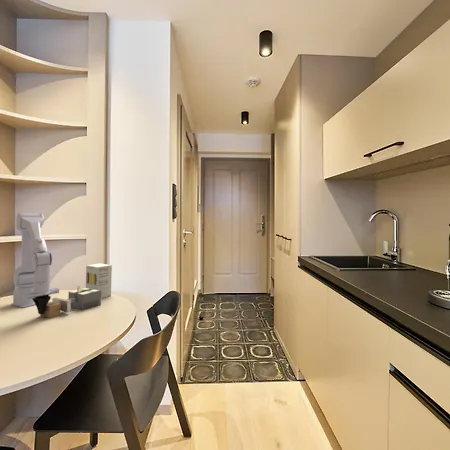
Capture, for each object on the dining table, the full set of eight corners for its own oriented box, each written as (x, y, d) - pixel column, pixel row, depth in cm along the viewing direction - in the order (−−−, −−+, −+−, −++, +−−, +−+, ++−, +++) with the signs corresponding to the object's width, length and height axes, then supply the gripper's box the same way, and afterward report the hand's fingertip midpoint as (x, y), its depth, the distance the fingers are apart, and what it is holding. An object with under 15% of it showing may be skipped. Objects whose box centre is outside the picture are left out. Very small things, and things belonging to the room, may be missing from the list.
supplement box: (84, 296, 166) (85, 265, 165) (99, 293, 174) (100, 263, 173) (97, 299, 161) (97, 266, 161) (111, 295, 169) (112, 264, 169)
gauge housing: (83, 310, 144) (83, 294, 143) (68, 306, 148) (68, 291, 148) (100, 304, 153) (101, 289, 152) (86, 301, 157) (86, 287, 157)
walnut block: (40, 316, 134) (40, 304, 134) (51, 312, 138) (51, 301, 138) (49, 318, 131) (49, 306, 131) (60, 315, 136) (60, 303, 136)
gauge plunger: (67, 312, 136) (67, 291, 136) (52, 308, 141) (52, 288, 141) (87, 306, 146) (88, 287, 146) (73, 302, 150) (73, 284, 150)
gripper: (30, 285, 122) (29, 320, 123) (63, 279, 135) (63, 310, 136) (19, 283, 126) (18, 317, 126) (53, 277, 139) (53, 308, 139)
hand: (41, 313), depth 131 cm, fingers closed
